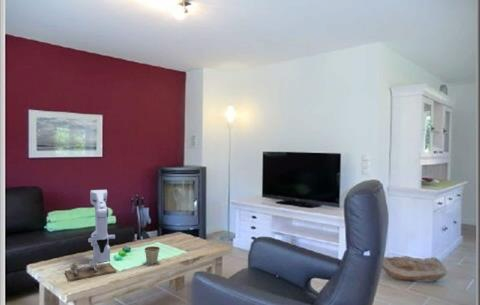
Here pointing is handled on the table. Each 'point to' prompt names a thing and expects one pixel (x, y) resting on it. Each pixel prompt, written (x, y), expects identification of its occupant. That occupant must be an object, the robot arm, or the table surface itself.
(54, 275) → the table surface
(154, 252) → the flower pot
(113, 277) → the table surface
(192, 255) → the table surface
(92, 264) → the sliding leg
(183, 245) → the table surface
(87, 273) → the gauge board
